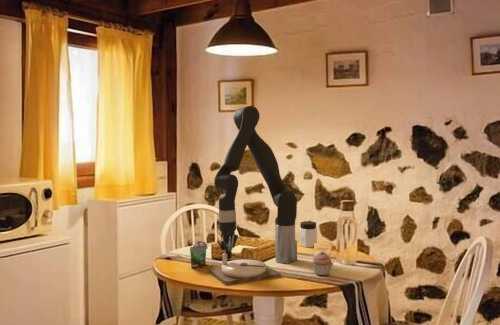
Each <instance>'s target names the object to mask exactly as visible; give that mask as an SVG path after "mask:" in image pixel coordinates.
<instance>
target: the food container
mask: <svg viewBox="0 0 500 325" xmlns="http://www.w3.org/2000/svg"><path fill="white" fill-rule="evenodd" d="M208 249H209V247H208V244H207V242H205V241H202V240H197V243H196V244H194V245H193V246H190V247H189V252H190V265H191V268H190V269H200V268H204V267H206V263H207V262H206V260H207V259H206V258H207V250H208Z"/></svg>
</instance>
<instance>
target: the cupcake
mask: <svg viewBox="0 0 500 325" xmlns="http://www.w3.org/2000/svg"><path fill="white" fill-rule="evenodd" d="M310 264H311V266H312V269H313V272H314V275H315V274H317V275H316V276H318V275H328V276H330V273H331V270H332V267H333V265H334V263H333V262H332V260H331V257H330V256H329V254H327V253H326V252H324V251H322V250H321V251H320V252H319V253H318V254H316V255H315V256H314V258H313V260H312V261H311V263H310Z"/></svg>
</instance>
